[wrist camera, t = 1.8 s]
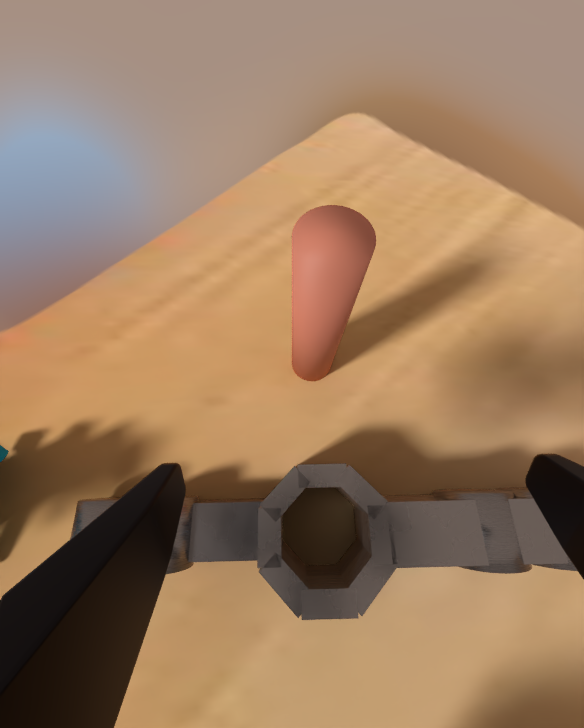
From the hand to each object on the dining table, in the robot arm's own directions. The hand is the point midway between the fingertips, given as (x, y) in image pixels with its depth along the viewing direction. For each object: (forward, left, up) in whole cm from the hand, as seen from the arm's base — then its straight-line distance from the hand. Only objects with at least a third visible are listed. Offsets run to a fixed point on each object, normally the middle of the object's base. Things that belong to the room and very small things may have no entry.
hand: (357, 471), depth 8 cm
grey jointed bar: (-3, 0, -13) cm, 14 cm away
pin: (+8, 0, -13) cm, 15 cm away
